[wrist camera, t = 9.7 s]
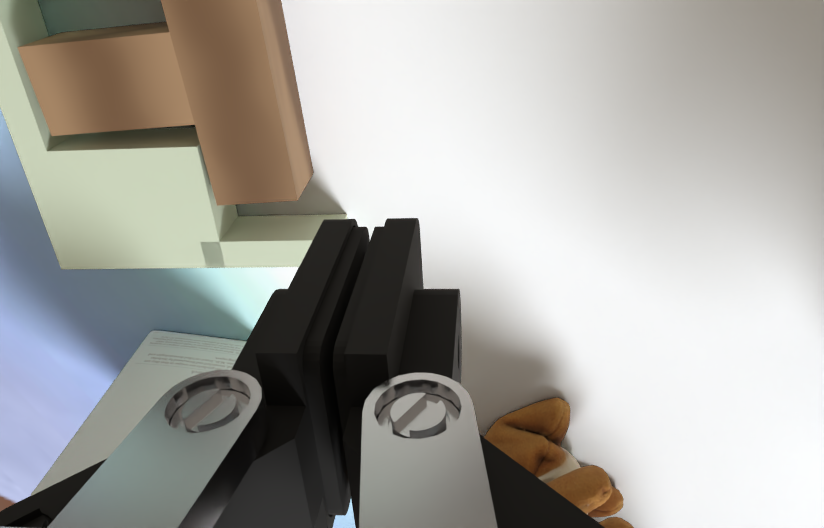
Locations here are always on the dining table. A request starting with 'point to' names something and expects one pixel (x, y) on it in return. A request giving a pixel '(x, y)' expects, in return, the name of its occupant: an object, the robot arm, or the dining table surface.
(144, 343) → the supplement box
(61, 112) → the tee
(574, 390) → the dining table surface
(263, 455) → the robot arm
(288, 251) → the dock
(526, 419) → the stuffed squirrel
